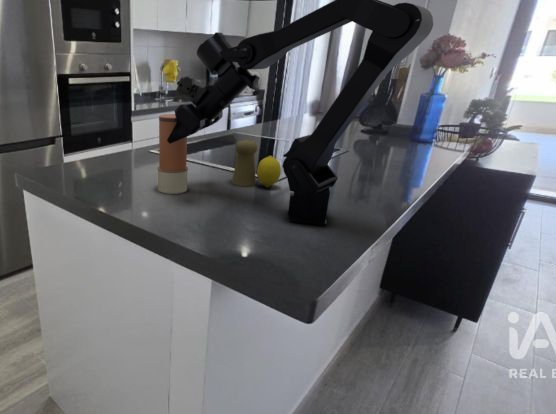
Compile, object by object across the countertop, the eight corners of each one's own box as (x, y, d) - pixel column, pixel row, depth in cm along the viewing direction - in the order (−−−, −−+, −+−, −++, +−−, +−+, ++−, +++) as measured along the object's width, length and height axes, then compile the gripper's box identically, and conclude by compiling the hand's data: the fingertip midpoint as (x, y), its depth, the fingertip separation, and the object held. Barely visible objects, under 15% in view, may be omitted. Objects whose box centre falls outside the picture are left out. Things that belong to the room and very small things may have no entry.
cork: (258, 186, 96) (262, 142, 92) (234, 186, 96) (237, 143, 93) (252, 179, 102) (256, 138, 98) (229, 179, 102) (232, 138, 98)
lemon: (255, 189, 94) (258, 157, 91) (256, 183, 99) (258, 152, 96) (279, 191, 92) (282, 158, 89) (278, 184, 97) (282, 153, 94)
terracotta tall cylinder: (189, 165, 95) (190, 114, 90) (182, 172, 89) (183, 117, 85) (163, 163, 97) (163, 113, 93) (155, 170, 91) (155, 117, 87)
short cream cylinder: (190, 186, 97) (191, 165, 95) (182, 195, 90) (183, 172, 89) (163, 183, 99) (163, 163, 97) (153, 192, 93) (153, 170, 91)
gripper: (211, 62, 90) (168, 109, 98) (184, 62, 74) (135, 118, 83) (243, 97, 89) (196, 141, 98) (222, 105, 74) (169, 156, 82)
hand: (175, 138), depth 90 cm, fingers open, 9 cm apart
